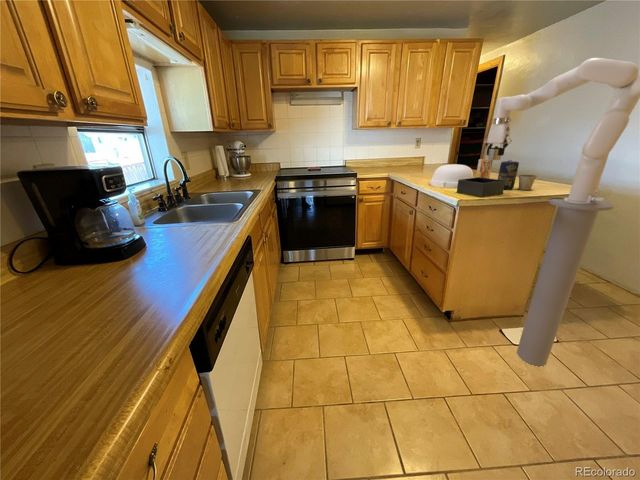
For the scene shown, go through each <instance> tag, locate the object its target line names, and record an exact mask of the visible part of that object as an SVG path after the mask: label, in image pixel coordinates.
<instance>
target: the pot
mask: <svg viewBox="0 0 640 480" xmlns="http://www.w3.org/2000/svg"><path fill="white" fill-rule="evenodd" d="M500 148H501V146H498V145H495V146H494V147H493V146H492V147H491V148H489V154H488V155H487V159H488V160H493V161H501V159H502V156H499V150H500Z"/></svg>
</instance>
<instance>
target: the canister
mask: <svg viewBox="0 0 640 480" xmlns="http://www.w3.org/2000/svg"><path fill="white" fill-rule="evenodd" d="M499 165H500V166H499V171H498V175H497V179H498V180H505V185H504V190H513V189H514V188H515V183H516V179H517V175H518V171H519V165H520V162H519V161H515V160H514V161H513V160H512V159H508V160H507V161H501V162H500V164H499Z"/></svg>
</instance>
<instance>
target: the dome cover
mask: <svg viewBox="0 0 640 480" xmlns="http://www.w3.org/2000/svg"><path fill="white" fill-rule="evenodd" d="M432 174H433V175H432V178H431V179H430V181H429V186H432V187H436V188H441V189H442V188H443V189H457V186H458V180H461V179H469V178H474V171H473V170H472V168H471V167H469V166H468V165H466V164H457V163H453V164H452V163H451V164H450V163H449V164H444V165H440V166H438V167H437V168H435V170H434V172H433V173H432Z"/></svg>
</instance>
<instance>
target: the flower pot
mask: <svg viewBox="0 0 640 480" xmlns="http://www.w3.org/2000/svg"><path fill="white" fill-rule="evenodd" d="M517 175H518V190H520V191H531V190H532V187H533V185H534V183H535V180H536V179H537V177H538V175H535V174H517Z"/></svg>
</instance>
